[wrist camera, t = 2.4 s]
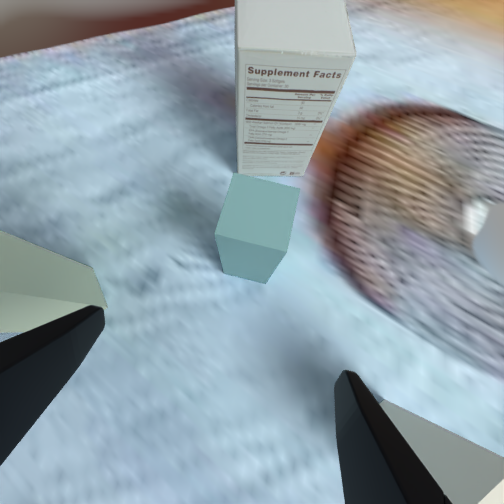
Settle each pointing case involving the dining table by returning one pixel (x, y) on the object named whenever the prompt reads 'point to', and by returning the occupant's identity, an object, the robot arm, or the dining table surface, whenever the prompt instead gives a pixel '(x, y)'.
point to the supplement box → (287, 80)
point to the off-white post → (451, 459)
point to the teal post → (255, 227)
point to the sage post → (41, 285)
